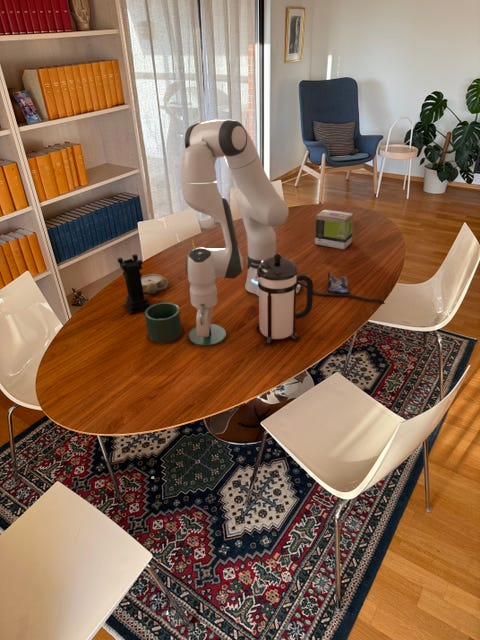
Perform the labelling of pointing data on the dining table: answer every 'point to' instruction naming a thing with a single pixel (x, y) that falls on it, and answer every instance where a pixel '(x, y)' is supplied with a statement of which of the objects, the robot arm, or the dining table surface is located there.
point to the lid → (215, 337)
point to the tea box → (334, 229)
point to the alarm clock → (153, 283)
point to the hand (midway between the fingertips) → (207, 332)
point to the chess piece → (134, 285)
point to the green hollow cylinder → (163, 322)
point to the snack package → (337, 284)
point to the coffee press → (280, 297)
